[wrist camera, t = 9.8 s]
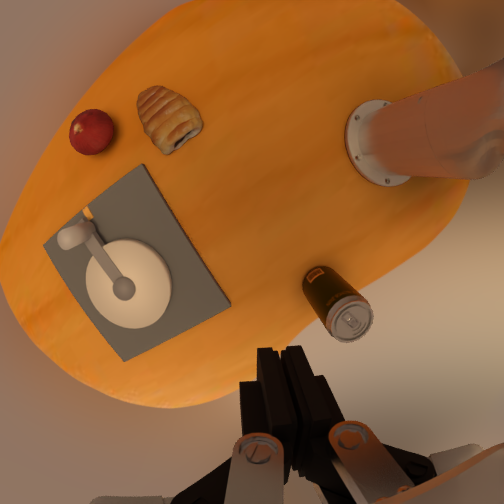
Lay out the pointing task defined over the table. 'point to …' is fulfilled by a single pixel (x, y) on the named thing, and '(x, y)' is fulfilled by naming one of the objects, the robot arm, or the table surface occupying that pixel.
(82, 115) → the onion
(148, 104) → the pastry
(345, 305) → the beer can
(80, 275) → the base plate
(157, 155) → the table surface
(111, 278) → the dial
